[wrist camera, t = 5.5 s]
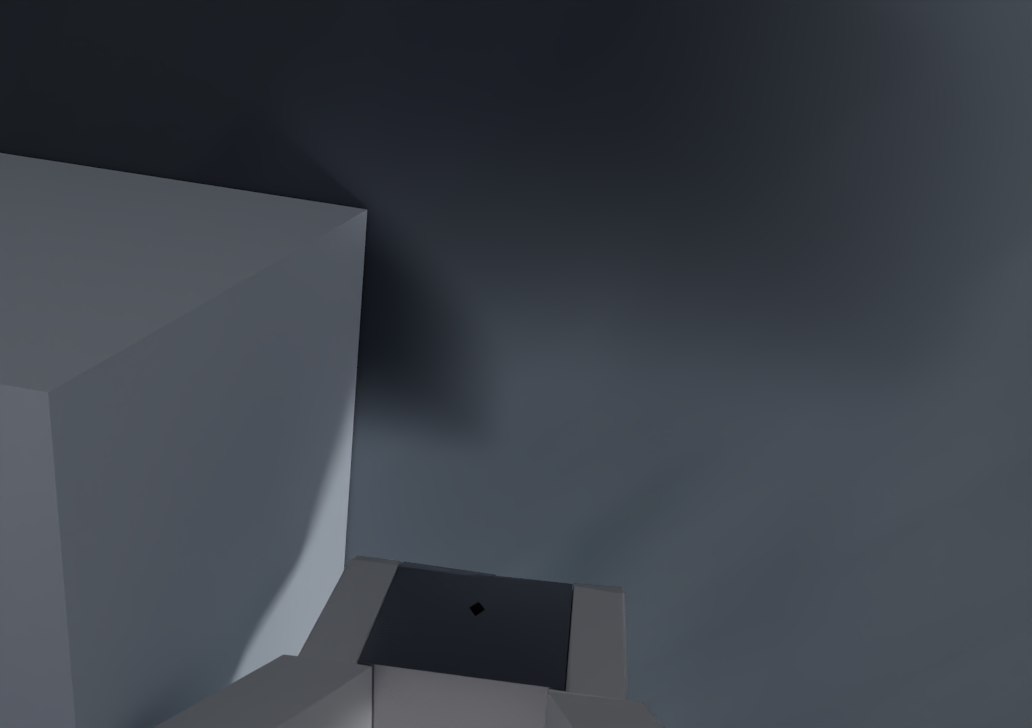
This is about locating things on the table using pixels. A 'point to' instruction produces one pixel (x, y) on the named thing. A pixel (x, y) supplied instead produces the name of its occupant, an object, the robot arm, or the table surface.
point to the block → (166, 436)
